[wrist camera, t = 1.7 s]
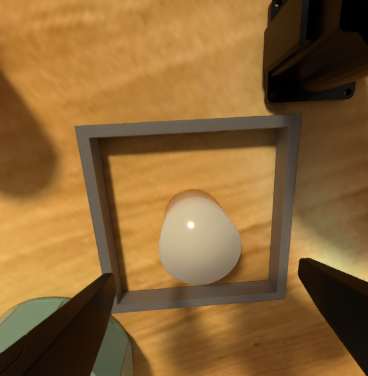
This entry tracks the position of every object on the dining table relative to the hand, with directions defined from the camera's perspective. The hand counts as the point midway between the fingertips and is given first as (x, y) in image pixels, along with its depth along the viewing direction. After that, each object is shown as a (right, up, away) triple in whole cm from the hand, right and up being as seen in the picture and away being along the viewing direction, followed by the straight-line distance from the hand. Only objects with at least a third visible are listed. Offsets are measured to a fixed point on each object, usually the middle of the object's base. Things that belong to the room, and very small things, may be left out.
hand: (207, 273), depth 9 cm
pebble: (0, +2, +7) cm, 7 cm away
